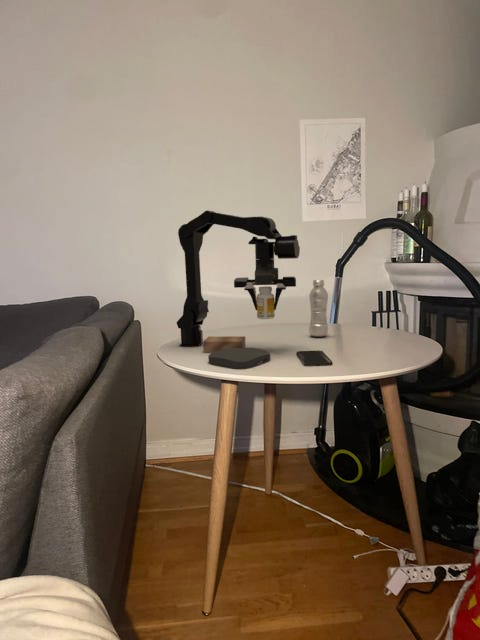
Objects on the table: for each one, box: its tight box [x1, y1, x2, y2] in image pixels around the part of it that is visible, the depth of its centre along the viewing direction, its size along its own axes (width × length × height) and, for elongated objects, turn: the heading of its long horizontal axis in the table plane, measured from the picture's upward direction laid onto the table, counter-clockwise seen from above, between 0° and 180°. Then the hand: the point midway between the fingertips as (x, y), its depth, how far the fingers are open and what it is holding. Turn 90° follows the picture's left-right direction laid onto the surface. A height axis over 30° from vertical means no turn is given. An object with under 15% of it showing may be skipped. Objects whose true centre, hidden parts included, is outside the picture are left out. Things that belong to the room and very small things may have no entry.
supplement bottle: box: [256, 285, 276, 320], centre depth 133 cm, size 5×5×10 cm
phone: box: [296, 350, 333, 367], centre depth 120 cm, size 8×1×15 cm
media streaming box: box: [208, 347, 271, 370], centre depth 121 cm, size 15×15×3 cm
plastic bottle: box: [308, 279, 329, 338], centre depth 151 cm, size 6×7×20 cm
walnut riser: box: [202, 335, 247, 354], centre depth 135 cm, size 12×8×4 cm, turn 82°
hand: (265, 310), depth 133 cm, fingers closed on supplement bottle, 5 cm apart
